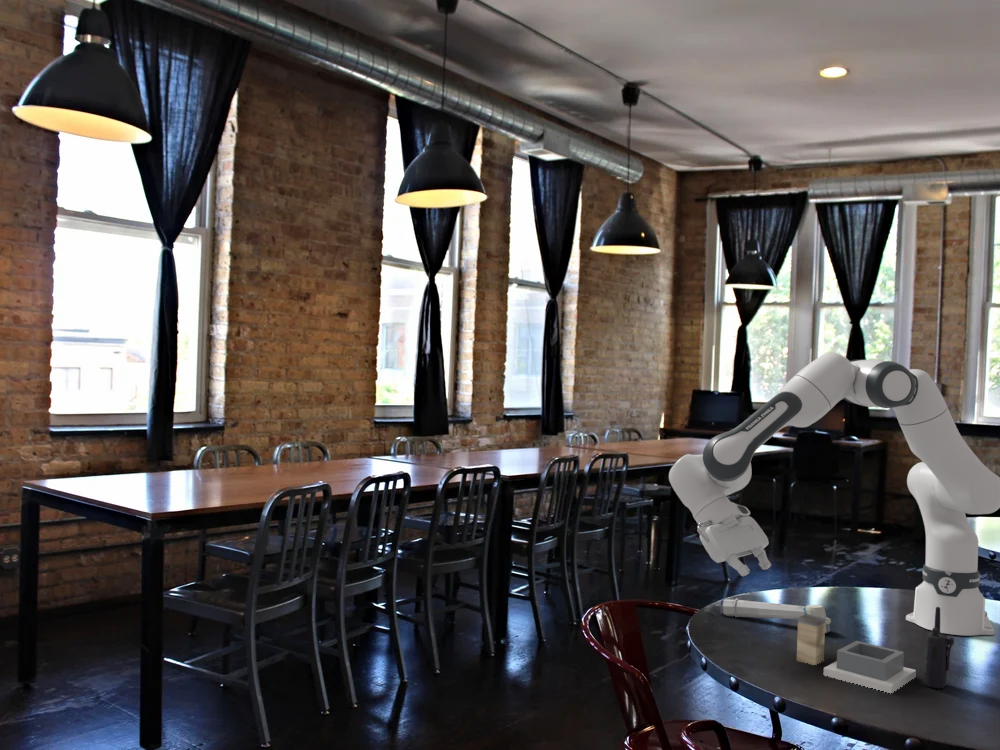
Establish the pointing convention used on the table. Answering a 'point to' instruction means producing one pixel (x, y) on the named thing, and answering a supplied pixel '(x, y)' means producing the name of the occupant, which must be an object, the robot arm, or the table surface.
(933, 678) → the two-way radio
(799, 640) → the light wood tall block
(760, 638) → the table surface
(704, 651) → the table surface
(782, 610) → the white long handled device
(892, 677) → the tool holder
